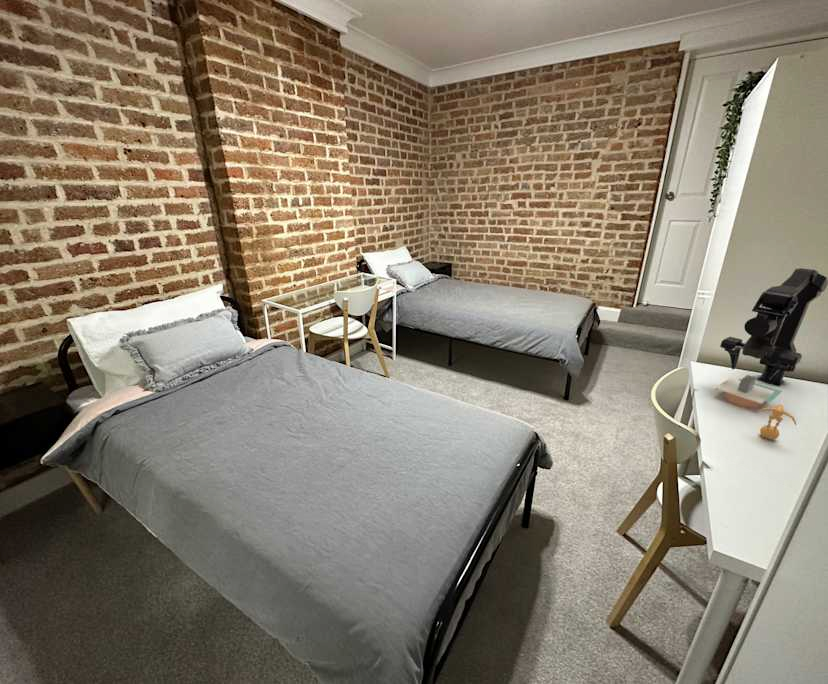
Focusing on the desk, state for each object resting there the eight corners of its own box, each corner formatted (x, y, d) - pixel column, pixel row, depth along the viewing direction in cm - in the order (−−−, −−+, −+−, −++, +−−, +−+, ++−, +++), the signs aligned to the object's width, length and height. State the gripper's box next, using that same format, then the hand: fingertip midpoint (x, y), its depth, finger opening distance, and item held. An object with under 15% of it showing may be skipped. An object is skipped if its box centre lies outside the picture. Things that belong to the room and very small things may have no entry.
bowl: (729, 391, 131) (733, 381, 129) (762, 402, 124) (766, 392, 122) (719, 399, 126) (723, 389, 125) (752, 411, 119) (756, 400, 118)
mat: (739, 379, 139) (740, 378, 139) (781, 392, 129) (782, 391, 129) (727, 388, 133) (727, 387, 133) (770, 402, 123) (770, 401, 123)
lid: (729, 379, 131) (733, 367, 129) (773, 392, 122) (778, 380, 120) (716, 388, 125) (720, 376, 123) (761, 403, 116) (766, 391, 114)
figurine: (787, 441, 105) (803, 405, 100) (785, 450, 101) (801, 413, 96) (749, 428, 110) (763, 394, 106) (746, 437, 107) (760, 401, 102)
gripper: (720, 326, 118) (706, 370, 124) (799, 344, 104) (780, 392, 110) (733, 320, 124) (720, 362, 130) (810, 336, 109) (791, 382, 115)
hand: (750, 374), depth 121 cm, fingers open, 9 cm apart
